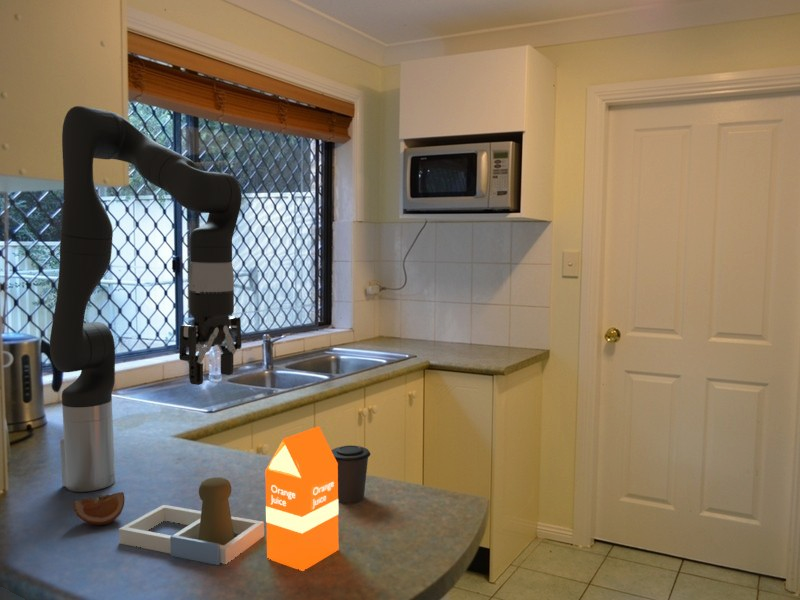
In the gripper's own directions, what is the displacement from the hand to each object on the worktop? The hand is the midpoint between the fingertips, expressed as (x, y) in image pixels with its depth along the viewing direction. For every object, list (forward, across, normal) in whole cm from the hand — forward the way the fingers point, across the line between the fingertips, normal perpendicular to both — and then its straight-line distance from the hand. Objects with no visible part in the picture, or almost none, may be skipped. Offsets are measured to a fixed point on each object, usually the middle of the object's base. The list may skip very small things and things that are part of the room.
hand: (212, 379), depth 123 cm
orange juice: (+25, +6, +22) cm, 34 cm away
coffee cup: (+25, -18, +19) cm, 36 cm away
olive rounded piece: (+26, +8, +7) cm, 28 cm away
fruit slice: (+26, +9, -18) cm, 33 cm away
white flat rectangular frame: (+26, +9, +2) cm, 27 cm away
